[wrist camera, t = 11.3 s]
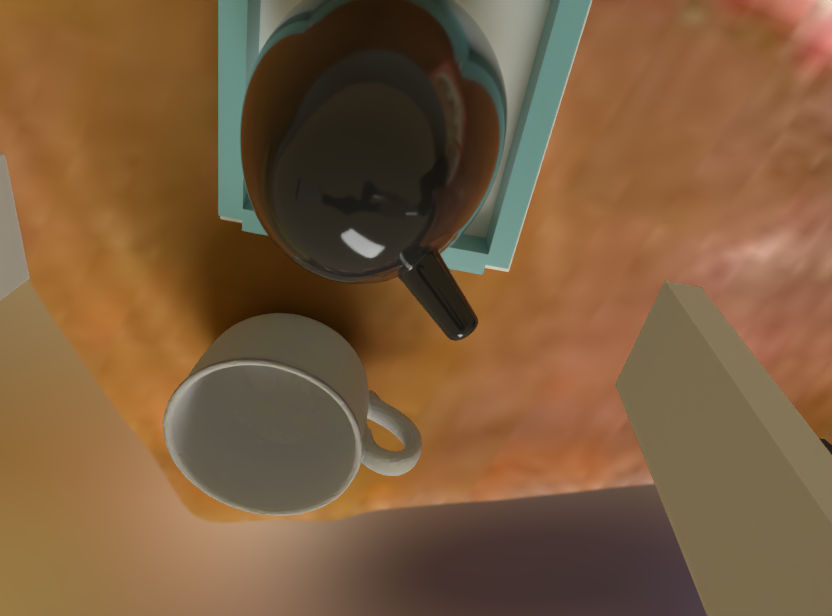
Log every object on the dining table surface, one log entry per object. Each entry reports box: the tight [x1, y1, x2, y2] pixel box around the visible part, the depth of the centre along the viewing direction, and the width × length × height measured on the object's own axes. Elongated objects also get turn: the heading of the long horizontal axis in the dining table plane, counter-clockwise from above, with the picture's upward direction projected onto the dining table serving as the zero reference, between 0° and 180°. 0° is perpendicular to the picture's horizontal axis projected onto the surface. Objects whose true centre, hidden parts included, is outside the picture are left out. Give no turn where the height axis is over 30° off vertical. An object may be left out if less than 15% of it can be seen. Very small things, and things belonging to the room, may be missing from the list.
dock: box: [218, 0, 592, 275], centre depth 27 cm, size 16×16×3 cm
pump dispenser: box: [240, 0, 507, 341], centre depth 20 cm, size 10×10×15 cm
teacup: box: [163, 313, 422, 516], centre depth 34 cm, size 14×11×8 cm
